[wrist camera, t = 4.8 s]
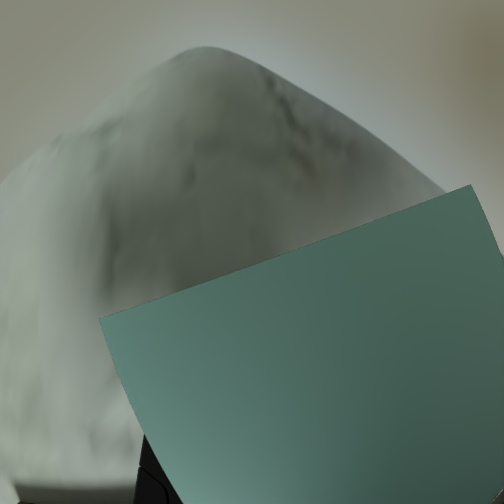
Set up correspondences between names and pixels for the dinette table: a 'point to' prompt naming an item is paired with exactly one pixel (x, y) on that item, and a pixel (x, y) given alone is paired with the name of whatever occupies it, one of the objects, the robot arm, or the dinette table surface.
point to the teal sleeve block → (332, 368)
